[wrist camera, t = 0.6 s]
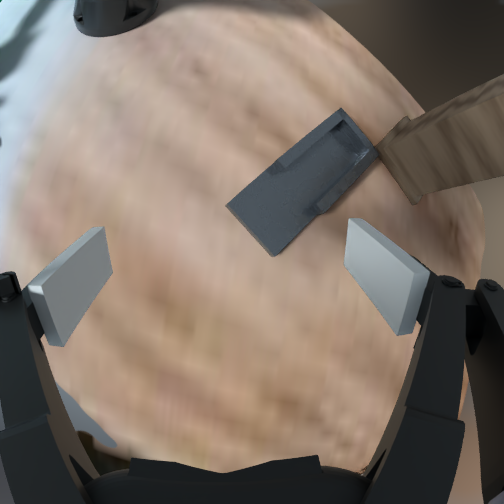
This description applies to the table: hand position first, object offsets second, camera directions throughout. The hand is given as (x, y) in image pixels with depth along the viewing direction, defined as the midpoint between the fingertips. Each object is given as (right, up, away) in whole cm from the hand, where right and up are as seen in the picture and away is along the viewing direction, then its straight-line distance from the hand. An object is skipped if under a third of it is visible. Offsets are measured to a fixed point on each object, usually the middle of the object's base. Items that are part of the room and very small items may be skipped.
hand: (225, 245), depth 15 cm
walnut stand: (+29, +16, +31) cm, 46 cm away
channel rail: (+9, +10, +26) cm, 29 cm away
